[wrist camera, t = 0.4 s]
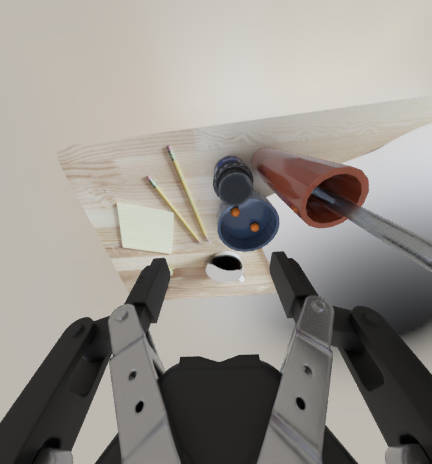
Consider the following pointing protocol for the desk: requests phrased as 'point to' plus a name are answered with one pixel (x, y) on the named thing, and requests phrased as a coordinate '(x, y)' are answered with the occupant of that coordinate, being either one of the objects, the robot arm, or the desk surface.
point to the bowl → (248, 224)
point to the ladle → (380, 227)
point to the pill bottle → (232, 181)
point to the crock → (309, 183)
